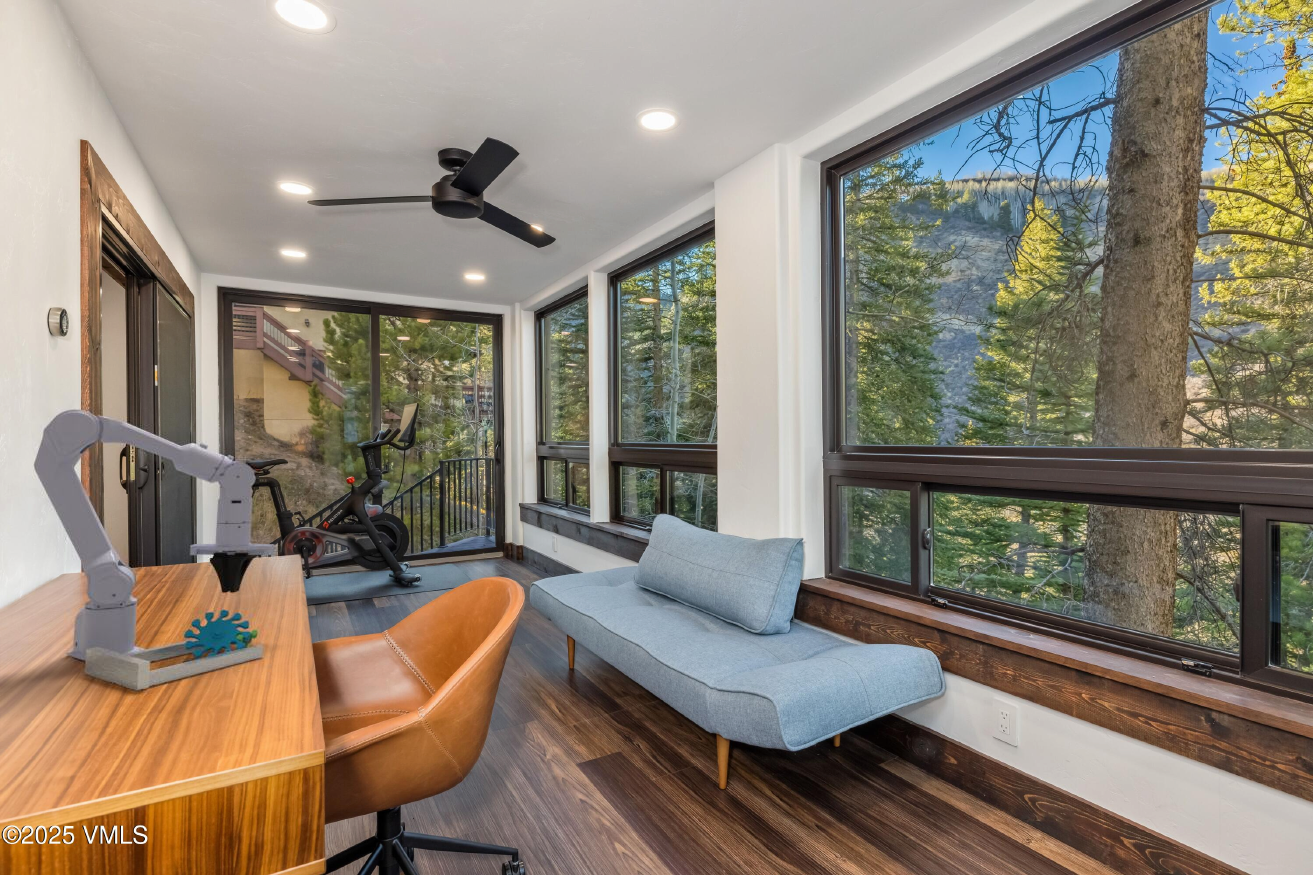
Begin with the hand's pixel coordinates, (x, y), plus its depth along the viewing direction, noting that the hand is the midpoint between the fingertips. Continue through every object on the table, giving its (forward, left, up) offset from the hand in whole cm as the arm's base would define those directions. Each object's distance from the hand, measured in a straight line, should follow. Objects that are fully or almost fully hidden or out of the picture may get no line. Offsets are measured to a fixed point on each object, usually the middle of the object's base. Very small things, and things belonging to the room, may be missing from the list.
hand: (230, 591), depth 125 cm
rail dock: (+9, -13, -9) cm, 18 cm away
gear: (+9, -6, -10) cm, 15 cm away
